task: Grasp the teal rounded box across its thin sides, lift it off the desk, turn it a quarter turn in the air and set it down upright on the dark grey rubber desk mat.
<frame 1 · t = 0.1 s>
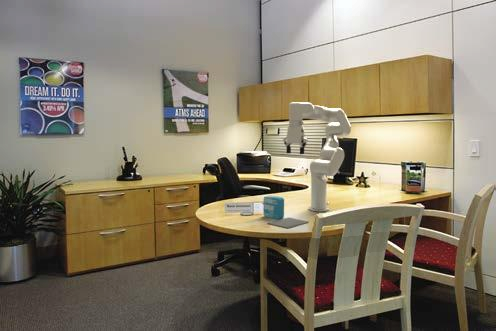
hand: (295, 153, 229), 37 cm above the table, tool pointing down, fingers open, 9 cm apart
desk mat: (288, 223, 214), on the table
teal rounded box: (273, 217, 228), on the table
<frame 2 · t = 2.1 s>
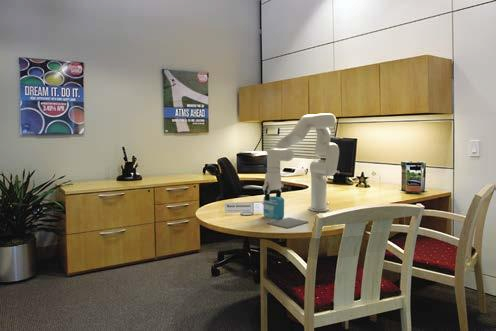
hand: (272, 199, 227), 10 cm above the table, tool pointing down, fingers open, 9 cm apart
nothing on the table moved.
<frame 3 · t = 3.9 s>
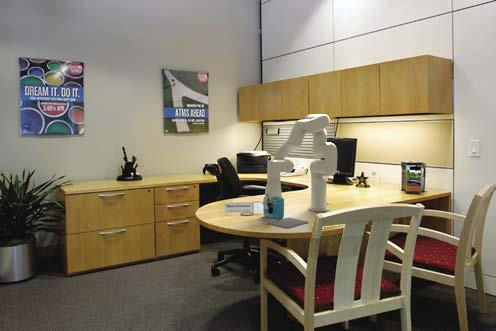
hand: (273, 212, 228), 3 cm above the table, tool pointing down, fingers closed on teal rounded box, 4 cm apart
teal rounded box: (273, 217, 228), on the table, touching gripper
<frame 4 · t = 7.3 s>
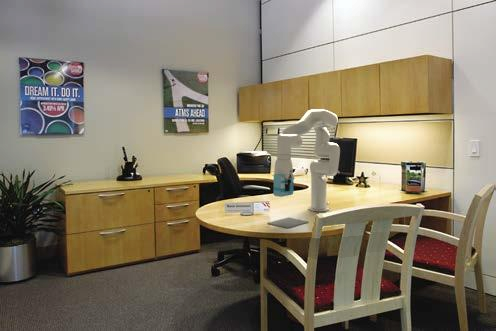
hand: (283, 190, 217), 17 cm above the table, tool pointing down, fingers closed on teal rounded box, 4 cm apart
teal rounded box: (283, 195, 217), point 14 cm above the table, touching gripper
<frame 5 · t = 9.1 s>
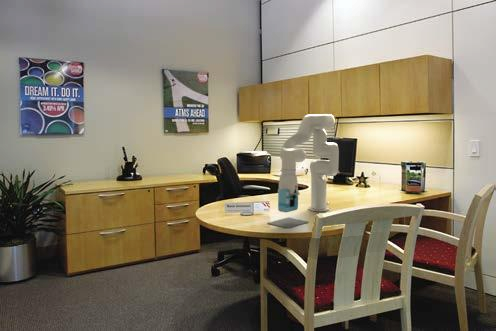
hand: (288, 205, 213), 10 cm above the table, tool pointing down, fingers closed on teal rounded box, 4 cm apart
teal rounded box: (288, 211, 213), point 7 cm above the table, touching gripper
when the fingers open (5 cm above the table, at t = 10.8 s): teal rounded box drops 1 cm, resting on desk mat.
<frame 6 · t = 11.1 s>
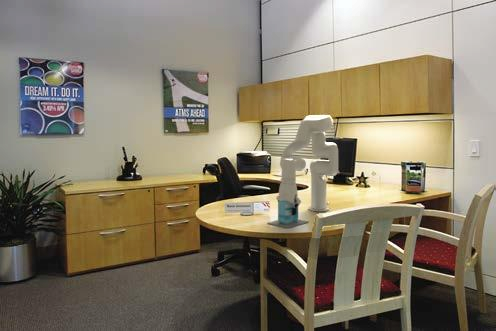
hand: (288, 213, 214), 5 cm above the table, tool pointing down, fingers open, 7 cm apart
teal rounded box: (288, 222, 214), resting on desk mat
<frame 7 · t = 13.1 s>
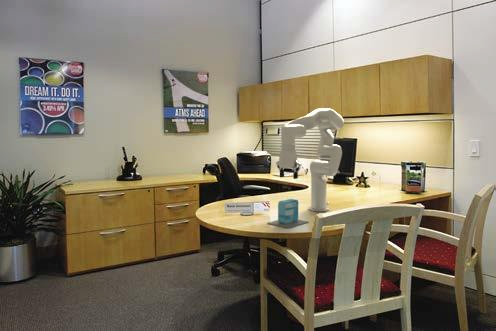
hand: (288, 177, 223), 23 cm above the table, tool pointing down, fingers open, 9 cm apart
nothing on the table moved.
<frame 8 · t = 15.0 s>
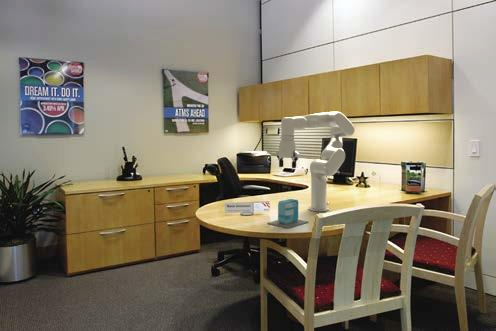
hand: (287, 167, 232), 28 cm above the table, tool pointing down, fingers open, 9 cm apart
nothing on the table moved.
at the end: teal rounded box inside the target area on the desk mat (0.1 cm from its centre), point 0.4 cm above the desk mat's base; teal rounded box tilted 0°; the gripper is holding nothing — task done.
